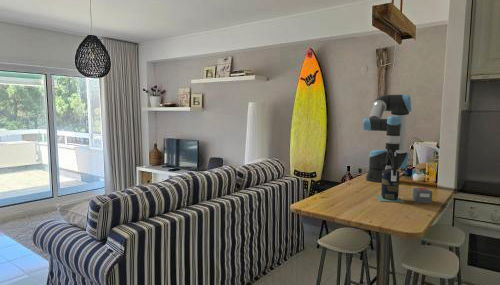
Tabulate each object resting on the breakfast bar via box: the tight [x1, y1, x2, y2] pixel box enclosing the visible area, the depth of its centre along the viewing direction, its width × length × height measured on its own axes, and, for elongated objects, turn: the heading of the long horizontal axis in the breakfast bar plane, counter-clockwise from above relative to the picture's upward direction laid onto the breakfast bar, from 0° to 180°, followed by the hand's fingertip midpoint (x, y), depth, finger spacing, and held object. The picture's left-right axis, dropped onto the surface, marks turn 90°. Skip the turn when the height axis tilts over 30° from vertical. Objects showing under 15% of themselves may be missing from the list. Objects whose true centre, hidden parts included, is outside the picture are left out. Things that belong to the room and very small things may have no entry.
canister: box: [380, 168, 401, 199], centre depth 201 cm, size 10×10×18 cm
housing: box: [411, 187, 433, 204], centre depth 198 cm, size 8×8×7 cm
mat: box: [375, 194, 405, 203], centre depth 201 cm, size 12×13×1 cm
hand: (390, 178), depth 201 cm, fingers open, 13 cm apart
